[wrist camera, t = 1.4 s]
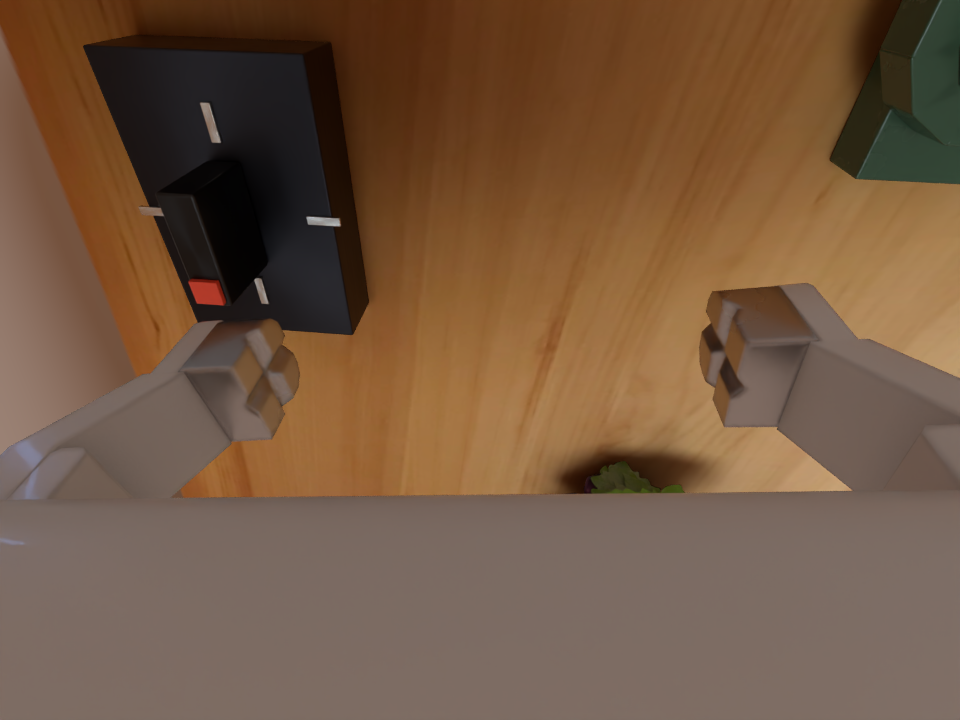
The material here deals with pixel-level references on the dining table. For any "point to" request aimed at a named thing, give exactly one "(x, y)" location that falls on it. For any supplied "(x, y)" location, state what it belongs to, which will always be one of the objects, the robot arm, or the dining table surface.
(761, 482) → the dining table surface
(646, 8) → the dining table surface
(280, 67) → the knob panel
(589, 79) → the dining table surface
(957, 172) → the button housing
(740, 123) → the dining table surface
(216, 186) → the oven knob
